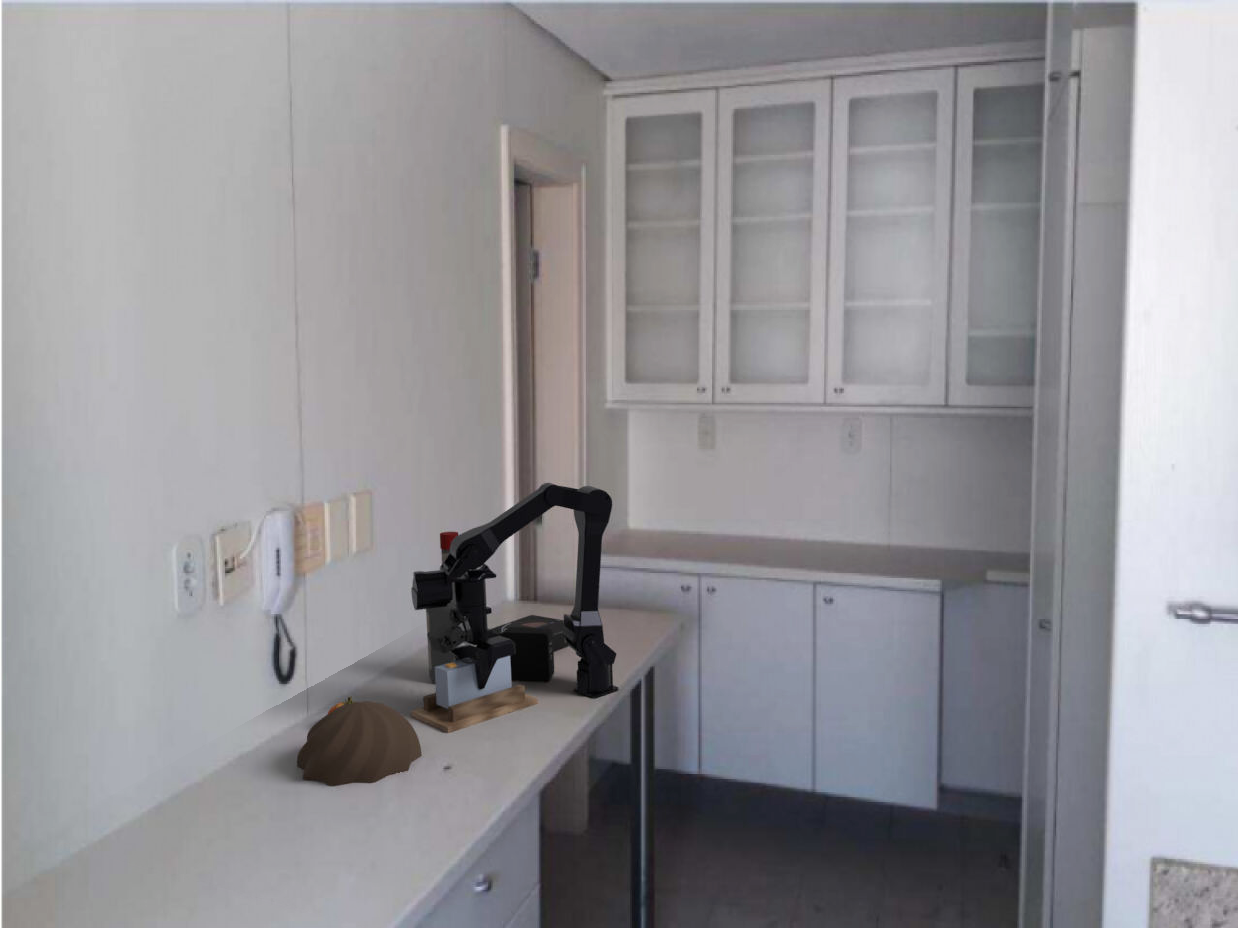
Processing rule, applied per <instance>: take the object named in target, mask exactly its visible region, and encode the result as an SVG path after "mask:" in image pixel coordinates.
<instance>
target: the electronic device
mask: <svg viewBox="0 0 1238 928" xmlns="http://www.w3.org/2000/svg"><path fill="white" fill-rule="evenodd" d="M500 636H502V637H505V638H508V639H511V640H512V641H513V642H514V643H515V654H514V655H510V662H511V682H522V683H523V682H526V683H528V682H529V683H548V682H549V680H551V678H552V677H553V676H554V674H555V652H554V645H553V631H552V630H551V629H550V628H527V627H508V628H507V629H504V631H501V634H500Z"/></svg>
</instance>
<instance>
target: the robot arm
mask: <svg viewBox="0 0 1238 928" xmlns="http://www.w3.org/2000/svg"><path fill="white" fill-rule="evenodd" d="M553 507H561V508H565V509H570V510H573V516H574V521H575V524H576V528H577V529H576V530H577V533H578V539H577V541H578V542H577V559H576V561H577V562H576V578H575V595H574V596H575V597H574V607H573V608H572V610H571V613H570V614H566V613H565V614H563V620H564V630H563V632H562V634H563V635H564V636H565V640H566V642H567V644H568V645H569V646H568V647H570V649H572V650H573V651H575V654H576V656H577V657H579V658H580V660H578V661H577V670H576V686H575V687H573V689H572V691H573V692H576V693H579V694H582V695H584V696H588V697H591V698H593V699H595V698H598V697H602V696H604V695H608V694H610V693H614V692H617V691H619V690H620V689H619V686H616V685H614V684H613V683H614V682H613V680H614V676H613V673H614V672H613V671H614V670H613V665H614V664H615V661H616V658H617V653H616V651H614V650H613V649H612V648H611V647H609V646H608V644H606V643H605V635H604V634H605V633H604V629H603V627H604V626H603V625H604V624H603V622H602V618H601V616H600V611H599V598H600V583H601V582H600V580H601V578H600V576H601V564H602V548H603V547H602V546H603V535H604V534H605V531H606V529H607V527H608V524H609V522H610V518H611V513H612V509H613V499H612V497H611V495H610V494H609V493H608V492H607V491H605V490H603V489H600V488H598V487H594V486H592V485H584V486H582V487H580V488H573V487H569V486H563V485H557V484H554V483H551V482H544V483H542V484H541V485H539V487H538V489H536V490H534V491H533V492H532V493H530V494H529V495H527V496H526V497H524V498H523V499H522V500H519V502H517V503H516V504H514V505H512V506H511V507H510V508H509V509H507V510H506V511H504V512H503V513H501V514H499V516H497V517H495V518H494V519H493V520H491V521H490V522H487V523H485V524H483V525H480V526H476V527H473V528H470V529H468V530H467V531H465V532H462V533H459V534H458V536H456V537H455V538H454V539H453V540H452V542H451V546H450V553H449V554H448V556H447V557H446V559H445V560H444V562H443V563H442V562H441V565H440V567H439V569H438V570H437V569H436V570H430V571H421V570H419V571H418V570H417V571H414V572H413V573H412V574H413V579H412V587H411V588H410V593H411V600H412V605H413V608H414V611H421V610H426V609H430V608H438V607H446V606H447V604H448V603H450V602H451V600H452V599H453V588H452V583H453V582H454V596H455V609H451V610H450V611H451V612H450V613H449V620H447V621H446V622H443V623H441V624H440V625H438V626H437V627H435V628H434V629H432V630H431V631H430V632H428V633H427V632H426V637H427V636H428V639H429V641H430V644H431V646H432V649H433V650H438V651H440V652H441V653H447V652H449V653H451V654H452V655H453V656H454V657H455V660H456V661H458V660H462V659H465V658H470V659H471V660H472V661H473V662H474V663H475V669H476V677H477V684H478V688H479V689H484V688H485V686H486V683H487V681H488V679H489V676H490V674H491V672H492V669H493V667H494V665H495V663H496V661H497V660H498V659H500V658H503V657H507V656H510V655H514V654H515V643H514V642H513V641H512V640H511V639H508V638H505V637H502V636H497V637H493V638H489V639H486V638H487V636H491V635H493V632H492V628H488V627H489V626H488V615H490V614H492V607H490V606H487V590H486V589H487V585H486V580H489V579H495V578H497V573H495V572H494V571H492V570H491V569H490V567H489V565H487V564H486V562H487V561H488V560H490V558H491V557H492V556H493V555H495V553H496V552H497V550H498V549H499V548H500V546H501V545H502V544H503V543H504V542H505V541H506V540H508V539H510V538H511V537H512V536H514V534H516V533H517V532H519V531H520V530H522V529H523V528H525V527H526V526H528V525H530V524H531V523H532V522H533V521H535V520H536V519H538V518H540V517H541V516H542V515H543V514H545V513H546V512H548V511H549V510H551V509H552V508H553ZM428 639H427V640H428ZM476 641H477V642H476Z"/></svg>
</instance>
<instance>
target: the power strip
mask: <svg viewBox="0 0 1238 928" xmlns="http://www.w3.org/2000/svg"><path fill="white" fill-rule="evenodd" d="M435 682H436V684H435V693H436V701H437V705H439V706H442V707H444V708H446V709H448V707H449V706H452V705H455V704H459V703H462V702H465V701H468V700H471V699H475V698H478V697H481V696H484V695H488V694H491V693H494V692H497V691H501V690H504V689H507V688H510V687H513V686H512V685H513V684H512V681H511V662H510V656H507V657H503V658H500V659H498V660H497V661H496V663H495V665H494V667H493V669H492V672H491V674H490V676H489V679H488V681H487V683H486V686H485V688H484V689H479V688H478V684H477V677H476V669H475V663H474V662H473V661H472V660H471V659H470V658H465V659H462V660H458V661H454V662H451V663H447V664H444V665H440V666H436V667H435Z"/></svg>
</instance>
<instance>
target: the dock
mask: <svg viewBox="0 0 1238 928" xmlns="http://www.w3.org/2000/svg"><path fill="white" fill-rule="evenodd" d="M525 688H526V687H525V685H521V684H518V685H514V686H512V687H510V688H507V689H504V690H501V691H497V692H494V693H491V694H488V695H484V696H481V697H478V698H475V699H471V700H468V701H465V702H462V703H459V704H455V705H452V706H449V707H448V709H446V708H444V707H442V706H439V705H437V701H436V692H434V693H431V694H427V695H424V696H423V699H422V701H423V707H419V708H416V709H412V710H410V717H412V718H414V719H416V720H419V721H421V722H422V723H426V724H427V725H430V726H432V727H434V728H436V729H439V730H441V731H443V732H445V733H447V734H448V733H449V734H450V733H452V732H456V731H458V730H461V729H465V728H467V727H470V726H473V725H476V724H480V723H483V722H486V721H488V720H492V719H495V718H498V717H500V716H503V715H508V714H509V712H510V713H513V712H516V711H519V710H522V709H526V708H528V707H530V706H531V707H532V706H534V705H537V704H538V703H539V699H538V697H537V696H533V695H531V694H527V693H525V692H526V691H525ZM512 711H513V712H512ZM497 716H498V717H497Z"/></svg>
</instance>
